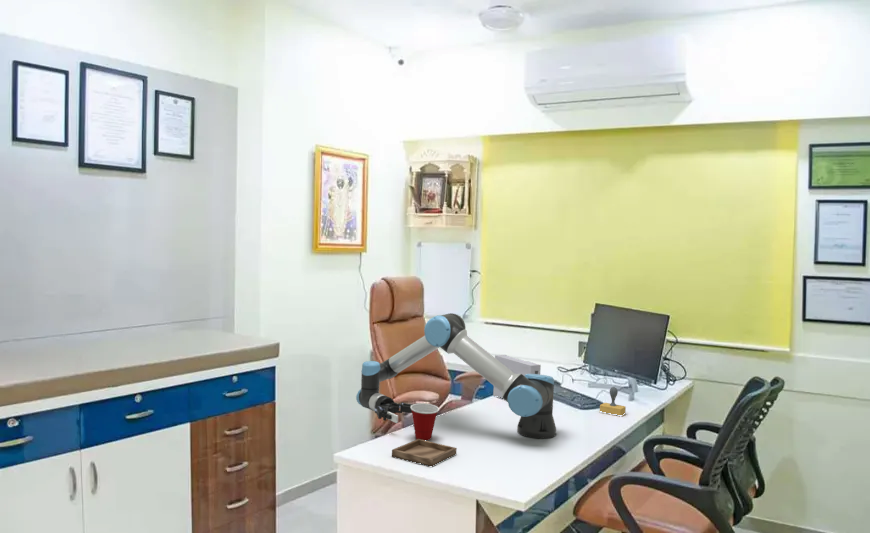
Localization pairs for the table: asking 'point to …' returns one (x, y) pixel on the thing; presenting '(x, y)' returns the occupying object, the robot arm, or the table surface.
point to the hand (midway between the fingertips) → (412, 417)
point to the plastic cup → (424, 419)
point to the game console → (516, 368)
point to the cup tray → (424, 452)
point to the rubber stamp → (613, 404)
